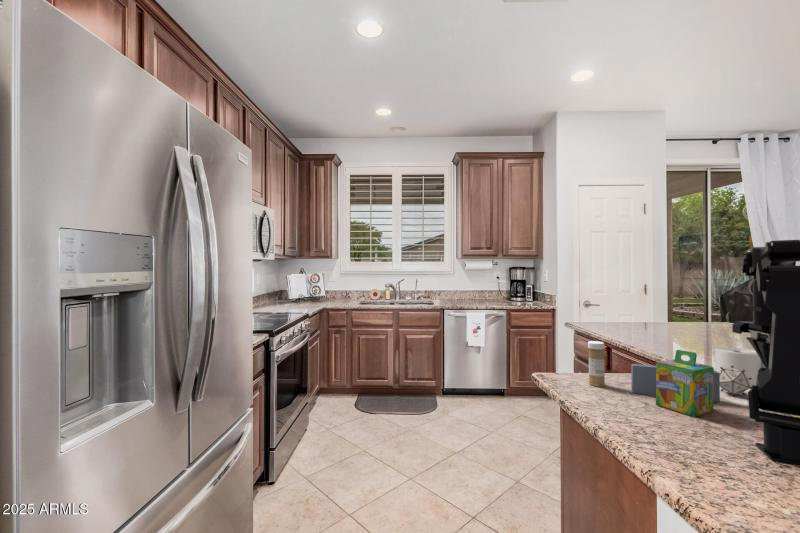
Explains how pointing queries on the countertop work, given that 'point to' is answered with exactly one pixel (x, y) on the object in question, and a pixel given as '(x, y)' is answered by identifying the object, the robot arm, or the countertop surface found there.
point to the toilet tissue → (739, 361)
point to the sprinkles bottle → (596, 363)
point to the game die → (734, 381)
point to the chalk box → (685, 385)
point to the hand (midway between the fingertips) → (771, 371)
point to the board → (646, 380)
